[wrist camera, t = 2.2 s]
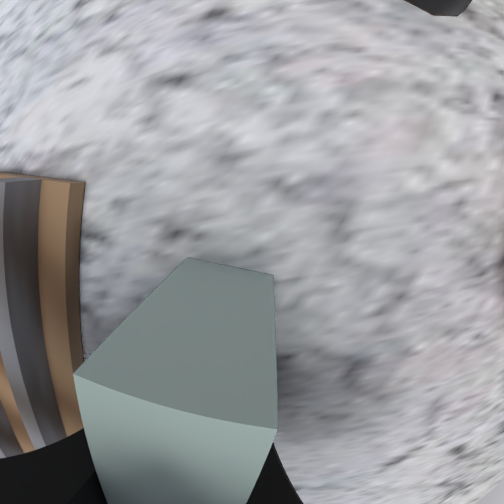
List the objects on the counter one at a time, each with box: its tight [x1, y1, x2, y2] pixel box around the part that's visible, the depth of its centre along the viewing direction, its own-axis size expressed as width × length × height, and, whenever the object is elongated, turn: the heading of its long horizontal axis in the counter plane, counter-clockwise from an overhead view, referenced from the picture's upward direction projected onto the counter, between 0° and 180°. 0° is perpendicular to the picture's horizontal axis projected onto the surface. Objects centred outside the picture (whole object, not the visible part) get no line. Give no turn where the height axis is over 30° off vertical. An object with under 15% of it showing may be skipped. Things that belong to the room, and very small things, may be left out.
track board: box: [0, 172, 85, 458], centre depth 11 cm, size 20×10×3 cm, turn 169°
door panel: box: [73, 258, 278, 504], centre depth 8 cm, size 10×3×7 cm, turn 169°
